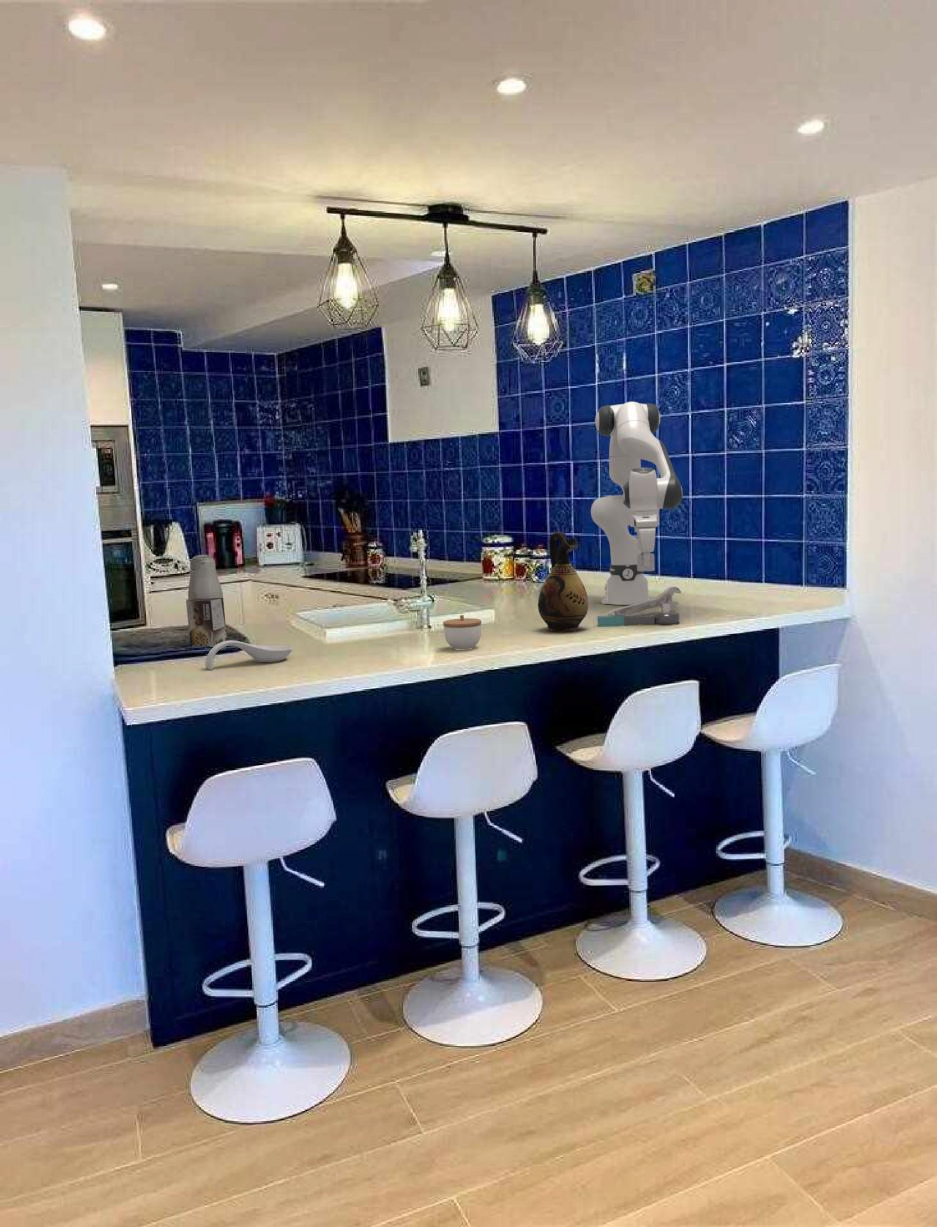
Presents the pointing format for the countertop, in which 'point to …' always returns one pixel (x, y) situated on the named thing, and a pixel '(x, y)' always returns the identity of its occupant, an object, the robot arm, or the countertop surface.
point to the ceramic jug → (562, 589)
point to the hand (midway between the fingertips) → (645, 565)
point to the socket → (641, 563)
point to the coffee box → (206, 621)
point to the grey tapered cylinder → (203, 578)
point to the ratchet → (641, 618)
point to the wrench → (649, 603)
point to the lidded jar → (462, 632)
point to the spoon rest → (251, 652)
